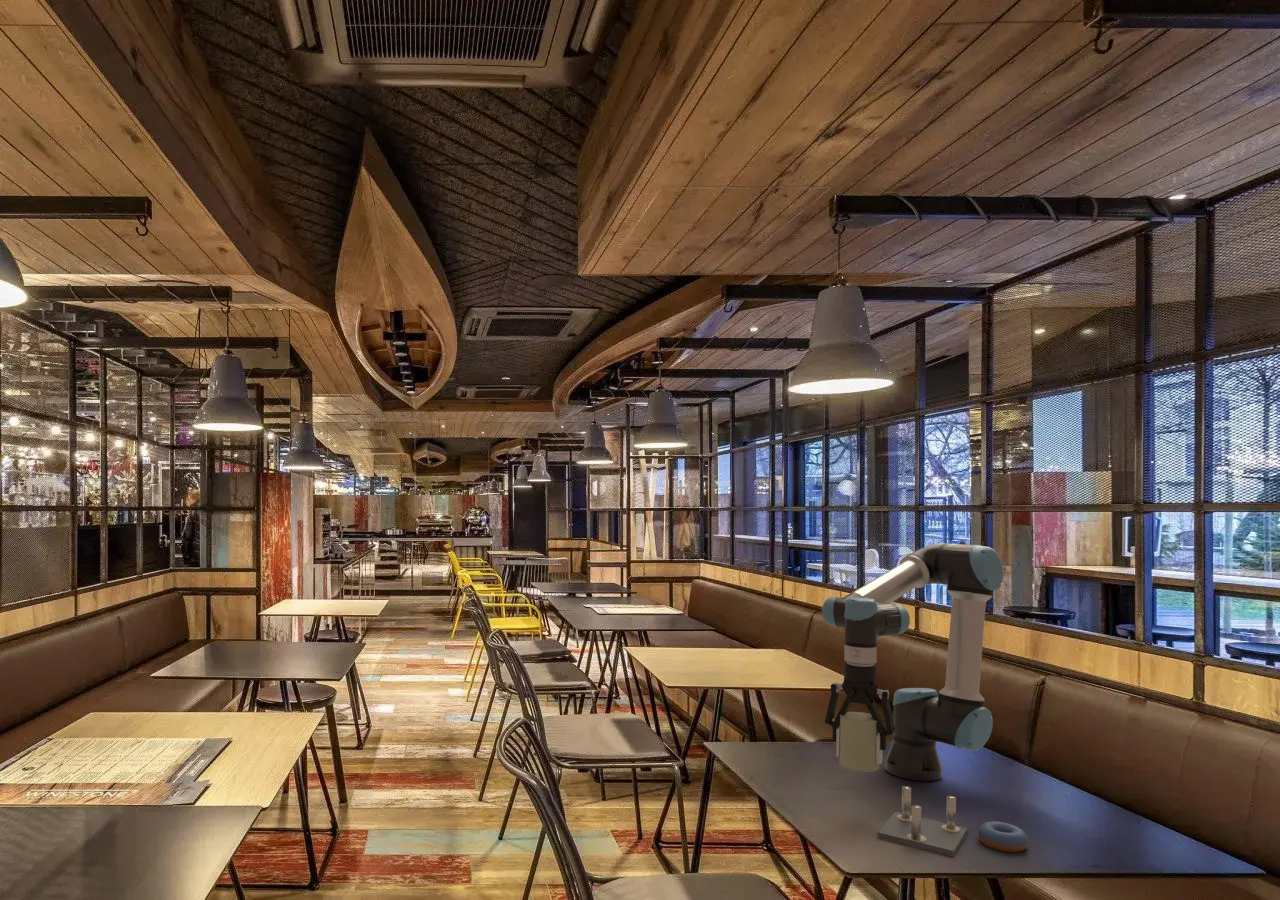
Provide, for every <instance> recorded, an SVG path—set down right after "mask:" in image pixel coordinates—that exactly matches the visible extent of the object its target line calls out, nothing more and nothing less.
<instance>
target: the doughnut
mask: <svg viewBox="0 0 1280 900" xmlns="http://www.w3.org/2000/svg"><path fill="white" fill-rule="evenodd" d="M977 835H978V838H979V840H980V841H981V843H983V845H985V846H986V847H989V848H991V849H993V850H997V851H1001V852H1005V853H1018V852H1019V853H1020V852H1022V851H1024V850H1025V849H1027V847H1028V835H1027V834H1026V833H1025V831H1024V830H1023V829H1022V828H1019V827H1018V826H1017V825H1014V824H1011V823H1008V822H1001V821H986V822H983V823H982V824H980V826H979V827H978V834H977Z"/></svg>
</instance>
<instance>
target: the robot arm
mask: <svg viewBox="0 0 1280 900" xmlns="http://www.w3.org/2000/svg"><path fill="white" fill-rule="evenodd" d="M1003 581H1004V567H1003V562H1002V559H1001V558H1000V555H999V554H998V553H997V551H996V550H994V549H993V548H992V547H990V546H984V545H980V544H966V543H965V544H964V543H963V544H961V543H947V542H946V543H945V542H944V543H943V542H941V543H938V542H937V543H933V544H930V545H926V546H925V547H924V546H923V547H921V548H919V549H917V550H915V551H913V552H910V553H909V554H907V555H906V556H905V555H904V557H902V559H900V561H899V563H898V564H897V565H896V566H894V567H893V568H891V569H890V570H888V571H886V572H884V573H883V574H881V575H879V576H877V577H876V578H874V579H873V580H870V581H868V582H867V583H866V584H864V585H862V586H861V587H859V588H857V589H855V590H854V591H852V592H850V593H849V594H847V595H845V596H844V597H839V596H836V597H835V596H834V597H833V596H832V597H828V598H826V600H825V601H823V604H822V607H821V614H822V619H823V621H824V623H825V624H827V625H828V626H832V627H836V628H839V629H840V628H842V629H844V646H843V648H844V652H843V653H844V654H843V655H844V661H845V663H844V664H843V682H842V683H838V682H834V683H832V684H830V693H831V694H830V698H829V702H828V707H827V710H826V715H825V719H824V724H826V725H829V726H831V727H832V741H833V742H835V743H836V744H835V745H836V746H835V750H836V751H835V757H837V758H840V715H844V714H846V712H849V711H848V710H849V709H850V707H851V705H852V704H857V703H859V704H862V705H865V706H866V709H868V711H869V714H871V716H872V718H873V720H874V721H875V720H876V721H877V722H876V727H877V729H878V732H879V734H878V735H877V736H876V764H877V765H879V766H880V765H881V764H882V763H883V751H885V750H886V749H887V746H888V736H891V735H892V740H891V745H890V747H889V750H888V753H887V756H886V758H885V762H884V765H885V767H884V769H885V771H886V772H887V773H889V774H890V775H893V776H895V777H899V778H902V779H907V780H913V781H918V782H919V781H921V782H931V781H932V782H933V781H938V780H940V779H942V777H943V766H942V764H941V759H940V757H939V754H938V751H937V742H938V743H942V744H946V745H948V746H953V747H956V748H957V749H959V750H962V749H963V750H968V751H977V750H980V749H982V748H983V747H984V746H985V744H986V743H987V742H988V740H989V739H990V737H991V734H992V731H993V723H994V720H993V716H992V712H991V711H990V710H989V709H988V708H987V707H985V698H984V697H983V695H982V694H981V692H980V685H981V674H982V673H981V672H982V670H981V669H982V658H983V643H984V630H985V629H984V628H985V618H986V617H985V616H986V603H987V602H988V601H989V600H990V599H992V598H993V591H996V590H998V589H999V588H1000V587H1002V585H1001V584H1003ZM936 584H937V585H947V586H946V587H947V588H946V592H947V593H948V594H949V596H951V608H950V621H949V632H948V647H947V656H946V657H947V659H946V672H945V683H944V684H945V685H944V687H943V688H942V689H939V691H937V689H934V688H928V687H927V688H926V687H906V688H900V689H897V690H896V691H895V692H894V694H893V701H892V708H891V703H890V702H891V701H890V695H891V691H890V690H889V689H880V688H879V686H878V685H877V666H876V663H877V658H878V657H877V656H878V654H877V653H878V651H877V638H878V637H886V636H896V635H900V634H903V633H905V632H907V630H908V629H909V627H910V623H911V622H910V621H911V618H910V614H909V612H908V609H906V607H904V606H903V605H901V604H899V603H893V602H895V601H896V600H898V599H899V598H901V597H902V596H904V595H906V594H907V593H909V592H910V591H912V590H914V589H915V588H916V589H920V588H924V587H926V586H927V585H936ZM842 690H843V692H844V693H845V695H846V697H845V699H844V701H843V703H842V706H841V707H840V708H839V711H838V713H837V714H836V716H835V713H836V710H837V705H838V700H839V697H840V693H841V691H842ZM876 695H878V698H879V699H880V701H881V708H882V713H883V717H884V721H883V719H882V716H881V714H880V711H879V709H878V706H877V705H876V701H875V699H874V697H875V696H876ZM892 711H893V712H892ZM834 716H835V719H834ZM884 722H885V723H884Z"/></svg>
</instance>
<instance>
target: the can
mask: <svg viewBox="0 0 1280 900" xmlns="http://www.w3.org/2000/svg"><path fill="white" fill-rule="evenodd" d="M876 722H877V721H876V720H875V721H874V720H873V718H872V716H871V713H870V712H868V713H867V712H862V711H861V712H860V711H847V712H846V714H844V715H840V725H839V727H840V757H839V761H838V762H839V763H838V764H839V766H840V767H841V768H844V769H846V770H849V771H853V772H860V773H870V772H872V773H873V772H876V771H878V770H879V769H880V765H877V764H876V736H877V735H878V734H879V732H878V729H877V727H876Z"/></svg>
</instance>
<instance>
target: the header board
mask: <svg viewBox="0 0 1280 900" xmlns="http://www.w3.org/2000/svg"><path fill="white" fill-rule="evenodd" d="M901 814H902V812H899V811H895V812H894V813H893V814H892V816H890V817H889V819H887V821H886V822H885V823H884V824H883V825H882V827H881V828H880V829H879V830H878V831H877V834H876V837H877V838H876V839H879V840H884V841H889V842H892V843H896V844H901V845H905V846H909V847H913V848H916V849H920V850H925V851H928V852H931V853H932V852H933V853H936V854H940V855H945V856H947V857H955V855H956V854H957V852H958V850H959V849H960V847H961V846H962V844H963V842H964V840H965V838H966V836H967V835H968V833H969V832H968V829H969V828H968V827H963V826H960V825H956V829H955V830H951V829H947V828H946V822H942V821H937V820H934V819H929V818H924V817H921V840H920V841H915V840H912V839H911V818H910V819H904V818H902V817H901Z"/></svg>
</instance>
